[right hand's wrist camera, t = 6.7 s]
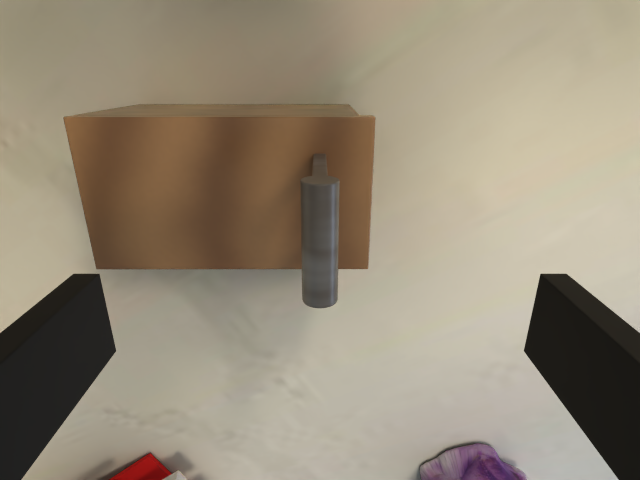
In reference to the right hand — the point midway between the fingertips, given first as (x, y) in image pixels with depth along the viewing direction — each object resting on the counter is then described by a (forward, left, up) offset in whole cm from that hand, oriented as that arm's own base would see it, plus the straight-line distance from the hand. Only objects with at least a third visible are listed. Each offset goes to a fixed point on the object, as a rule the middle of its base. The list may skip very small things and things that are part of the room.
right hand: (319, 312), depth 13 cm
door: (+2, -5, -13) cm, 14 cm away
